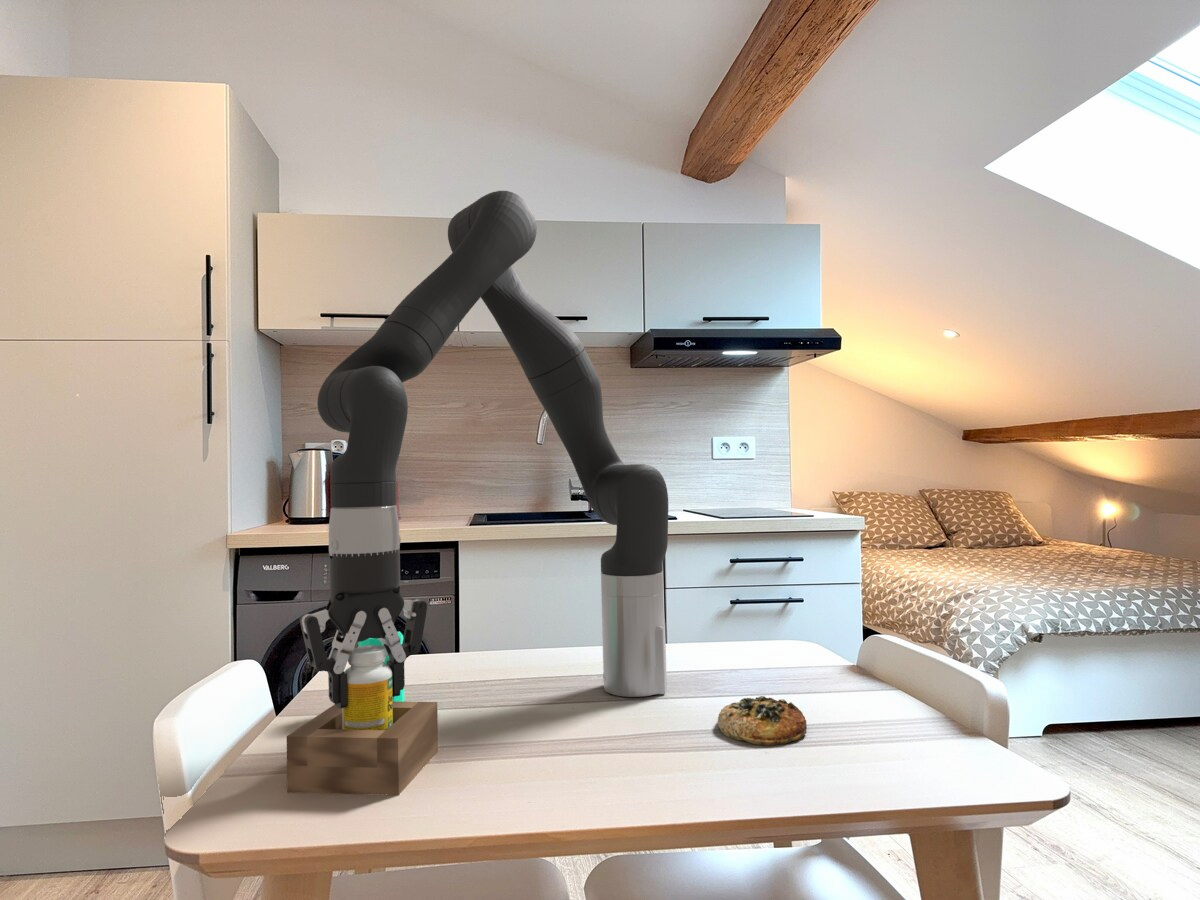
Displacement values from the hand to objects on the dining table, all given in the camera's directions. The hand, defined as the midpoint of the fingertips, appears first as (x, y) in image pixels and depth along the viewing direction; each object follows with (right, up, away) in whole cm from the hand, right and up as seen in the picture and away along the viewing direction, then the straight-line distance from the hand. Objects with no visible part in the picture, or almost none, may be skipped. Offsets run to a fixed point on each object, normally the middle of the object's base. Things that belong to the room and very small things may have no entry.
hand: (367, 699), depth 83 cm
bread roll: (+46, -7, +9) cm, 47 cm away
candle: (-4, -9, +20) cm, 23 cm away
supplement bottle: (0, -4, 0) cm, 4 cm away
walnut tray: (0, -8, 0) cm, 8 cm away
